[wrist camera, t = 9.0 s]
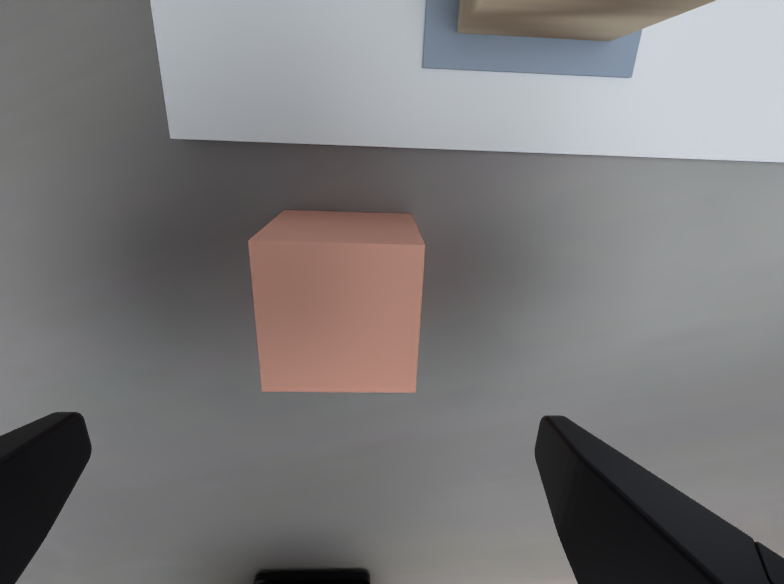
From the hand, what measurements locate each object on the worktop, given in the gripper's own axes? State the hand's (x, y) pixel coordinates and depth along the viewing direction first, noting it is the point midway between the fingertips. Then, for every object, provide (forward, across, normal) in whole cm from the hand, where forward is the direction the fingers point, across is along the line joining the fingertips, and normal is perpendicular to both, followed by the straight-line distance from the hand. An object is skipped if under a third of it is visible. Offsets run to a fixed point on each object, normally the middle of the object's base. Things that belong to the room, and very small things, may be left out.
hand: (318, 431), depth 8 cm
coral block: (+10, 0, 0) cm, 10 cm away
